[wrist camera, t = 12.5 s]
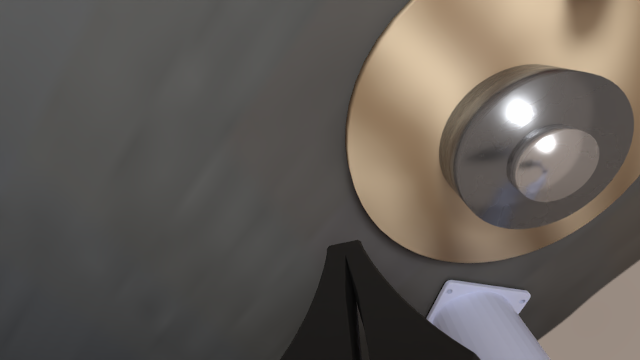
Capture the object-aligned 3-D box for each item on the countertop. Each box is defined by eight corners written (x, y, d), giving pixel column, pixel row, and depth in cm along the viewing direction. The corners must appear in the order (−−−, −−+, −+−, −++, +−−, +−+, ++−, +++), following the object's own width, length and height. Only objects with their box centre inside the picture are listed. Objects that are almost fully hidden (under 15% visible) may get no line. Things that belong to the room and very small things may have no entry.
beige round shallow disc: (426, 287, 27) (447, 333, 23) (282, 92, 19) (276, 111, 15) (679, 161, 22) (761, 192, 18) (628, -163, 14) (752, -235, 10)
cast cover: (472, 225, 22) (504, 264, 19) (413, 126, 19) (438, 150, 15) (602, 154, 20) (666, 183, 16) (562, 28, 17) (634, 30, 13)
